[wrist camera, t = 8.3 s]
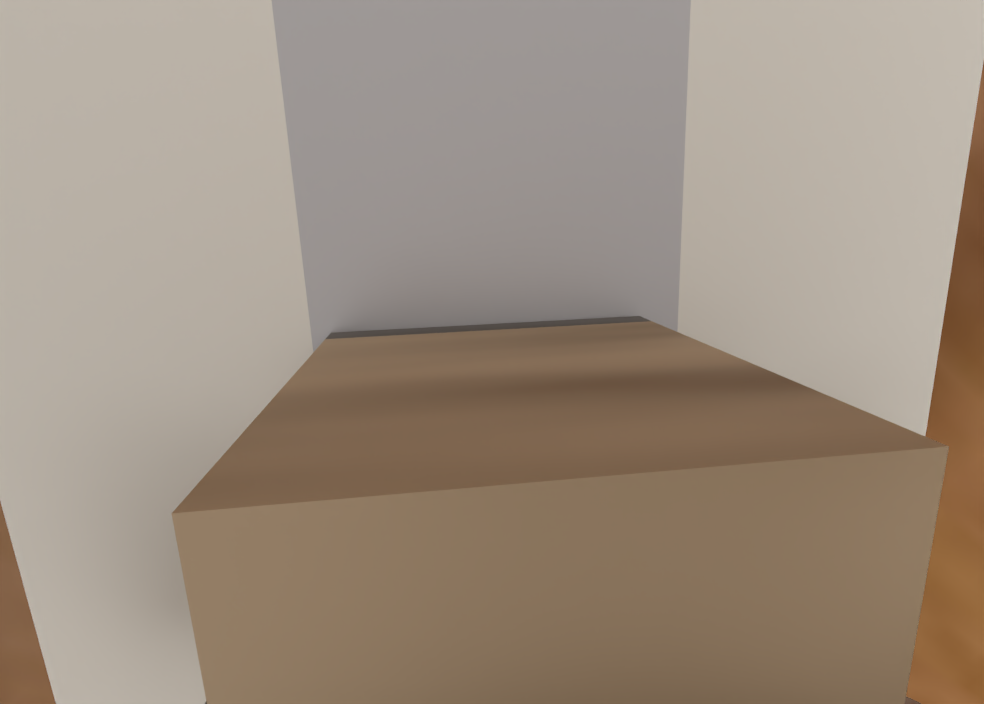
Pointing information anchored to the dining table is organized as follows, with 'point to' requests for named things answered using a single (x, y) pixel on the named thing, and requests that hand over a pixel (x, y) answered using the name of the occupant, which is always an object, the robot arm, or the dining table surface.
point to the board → (427, 231)
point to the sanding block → (557, 528)
